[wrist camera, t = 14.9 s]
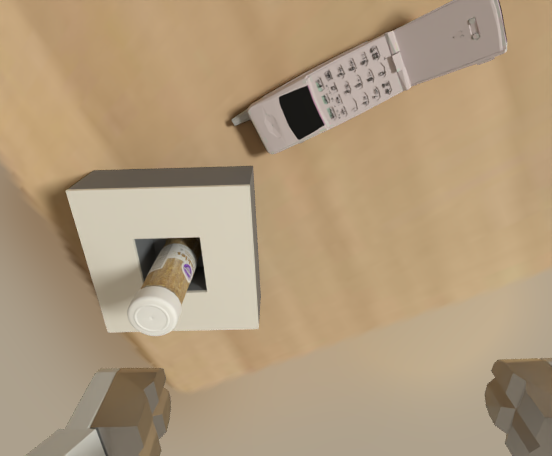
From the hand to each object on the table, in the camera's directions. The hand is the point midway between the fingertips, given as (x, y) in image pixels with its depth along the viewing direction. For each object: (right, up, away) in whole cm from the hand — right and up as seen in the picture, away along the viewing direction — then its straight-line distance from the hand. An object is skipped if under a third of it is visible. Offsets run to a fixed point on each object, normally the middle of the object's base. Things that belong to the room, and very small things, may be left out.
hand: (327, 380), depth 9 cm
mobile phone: (+6, +19, +29) cm, 35 cm away
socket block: (-13, +2, +37) cm, 39 cm away
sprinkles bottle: (-12, +2, +36) cm, 38 cm away
